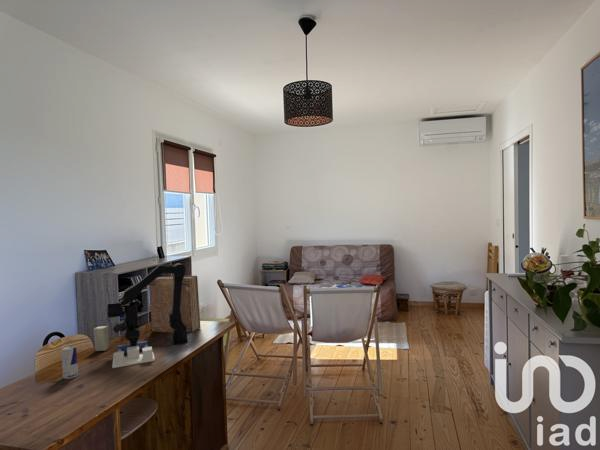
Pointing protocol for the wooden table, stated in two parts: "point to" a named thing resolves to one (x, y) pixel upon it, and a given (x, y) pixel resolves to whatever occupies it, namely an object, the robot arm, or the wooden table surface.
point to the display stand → (133, 357)
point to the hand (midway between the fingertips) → (133, 347)
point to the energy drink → (69, 362)
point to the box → (101, 338)
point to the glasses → (125, 346)
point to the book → (163, 303)
